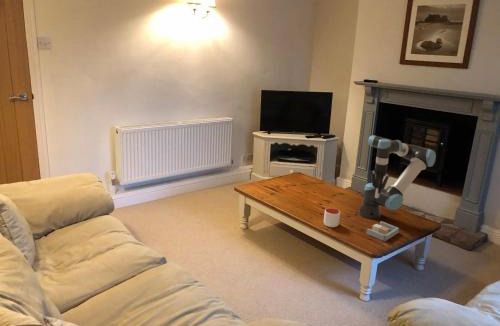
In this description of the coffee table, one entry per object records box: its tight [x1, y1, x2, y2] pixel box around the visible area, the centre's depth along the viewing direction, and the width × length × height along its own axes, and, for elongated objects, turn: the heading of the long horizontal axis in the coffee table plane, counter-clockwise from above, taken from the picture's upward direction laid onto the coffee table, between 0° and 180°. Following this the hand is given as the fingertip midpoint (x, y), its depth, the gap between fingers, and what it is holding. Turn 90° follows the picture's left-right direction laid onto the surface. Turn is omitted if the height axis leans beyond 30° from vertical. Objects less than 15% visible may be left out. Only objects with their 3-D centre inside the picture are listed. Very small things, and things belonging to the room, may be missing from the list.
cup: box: [323, 207, 341, 228], centre depth 274 cm, size 10×10×10 cm
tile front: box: [378, 226, 390, 235], centre depth 266 cm, size 4×4×4 cm
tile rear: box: [371, 223, 382, 232], centre depth 269 cm, size 4×4×4 cm
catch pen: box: [365, 221, 400, 242], centre depth 266 cm, size 13×18×4 cm
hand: (376, 197), depth 270 cm, fingers closed
